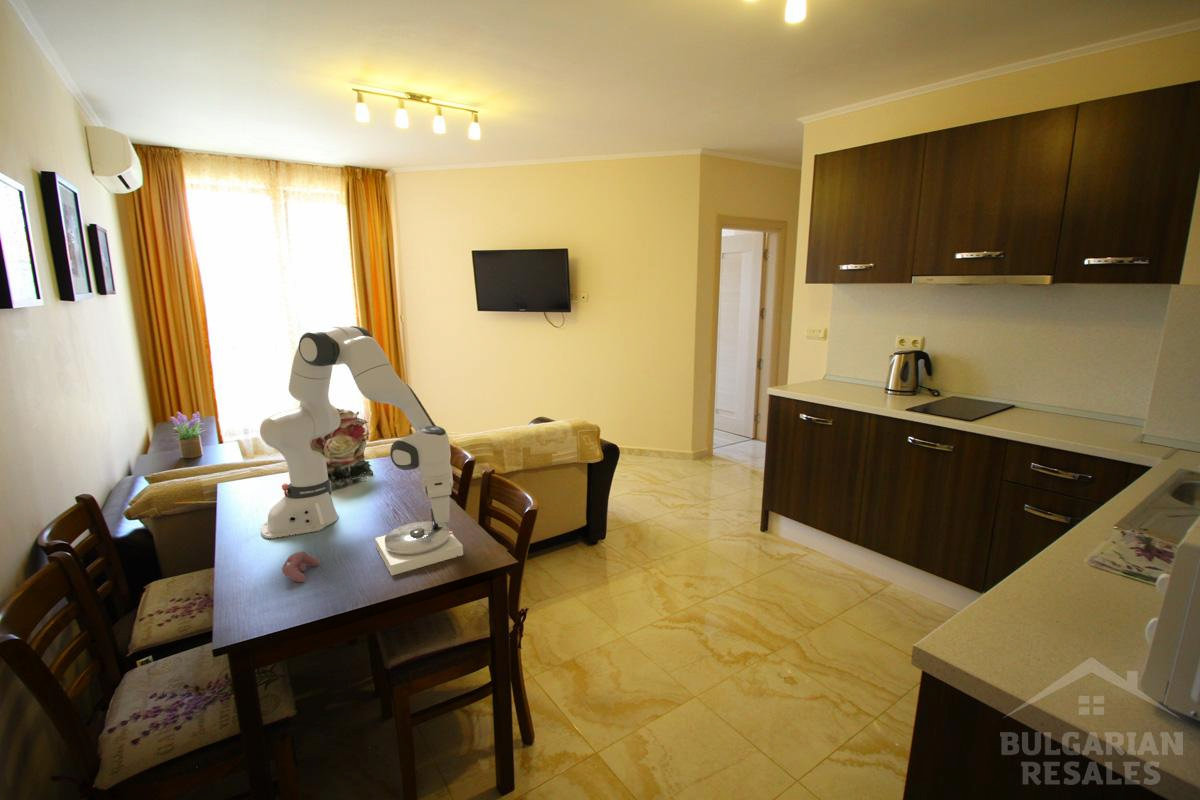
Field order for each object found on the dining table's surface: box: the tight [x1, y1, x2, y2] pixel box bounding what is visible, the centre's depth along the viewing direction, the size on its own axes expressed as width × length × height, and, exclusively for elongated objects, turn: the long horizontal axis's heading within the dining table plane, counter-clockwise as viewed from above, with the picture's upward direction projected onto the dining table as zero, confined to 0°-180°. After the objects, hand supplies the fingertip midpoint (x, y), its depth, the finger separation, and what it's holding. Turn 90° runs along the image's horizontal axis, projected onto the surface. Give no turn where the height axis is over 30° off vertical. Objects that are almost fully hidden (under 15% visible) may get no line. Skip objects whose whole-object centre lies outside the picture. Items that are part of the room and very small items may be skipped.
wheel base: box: [374, 530, 464, 576], centre depth 157 cm, size 20×20×3 cm
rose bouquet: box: [309, 406, 375, 492], centre depth 216 cm, size 26×29×30 cm
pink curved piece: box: [281, 550, 320, 583], centre depth 145 cm, size 10×5×7 cm, turn 6°
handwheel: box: [385, 507, 450, 556], centre depth 156 cm, size 18×18×8 cm
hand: (441, 525), depth 158 cm, fingers closed
